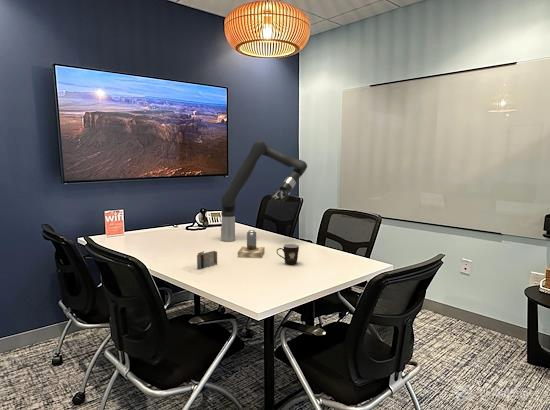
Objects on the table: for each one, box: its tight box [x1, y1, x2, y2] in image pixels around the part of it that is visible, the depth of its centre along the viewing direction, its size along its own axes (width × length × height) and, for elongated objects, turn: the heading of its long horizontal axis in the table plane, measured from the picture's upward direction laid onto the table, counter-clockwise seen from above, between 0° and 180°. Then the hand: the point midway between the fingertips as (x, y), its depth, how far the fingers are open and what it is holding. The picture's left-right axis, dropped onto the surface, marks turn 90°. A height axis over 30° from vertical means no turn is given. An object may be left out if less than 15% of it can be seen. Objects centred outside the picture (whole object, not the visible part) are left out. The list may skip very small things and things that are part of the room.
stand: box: [237, 246, 265, 259], centre depth 221 cm, size 14×14×3 cm
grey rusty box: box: [196, 250, 218, 270], centre depth 195 cm, size 11×3×10 cm, turn 139°
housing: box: [246, 229, 257, 250], centre depth 220 cm, size 6×6×11 cm
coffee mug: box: [276, 243, 300, 266], centre depth 203 cm, size 12×9×10 cm
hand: (274, 203), depth 241 cm, fingers open, 8 cm apart
